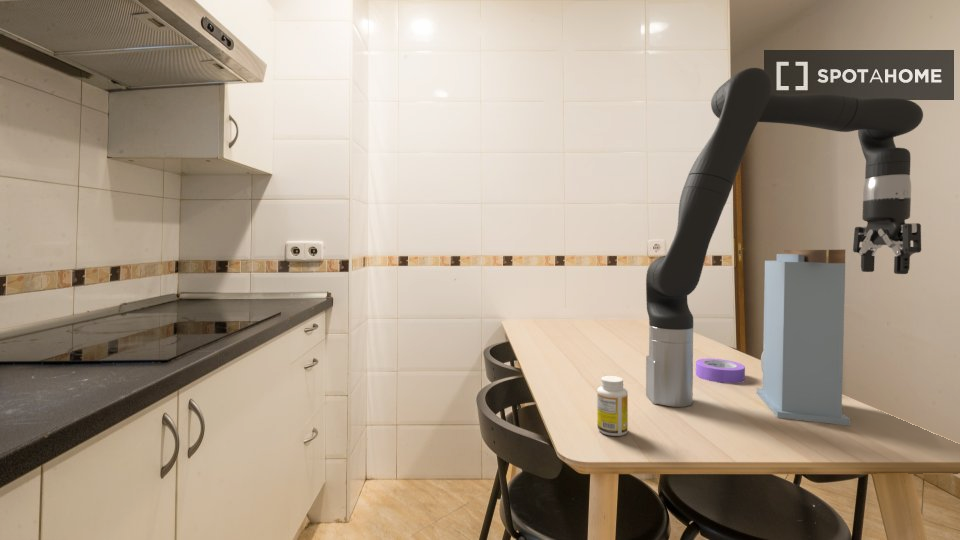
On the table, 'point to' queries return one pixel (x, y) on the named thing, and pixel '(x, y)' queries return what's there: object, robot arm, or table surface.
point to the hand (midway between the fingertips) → (883, 272)
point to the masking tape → (720, 370)
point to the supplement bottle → (612, 406)
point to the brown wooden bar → (820, 255)
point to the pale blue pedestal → (803, 339)
